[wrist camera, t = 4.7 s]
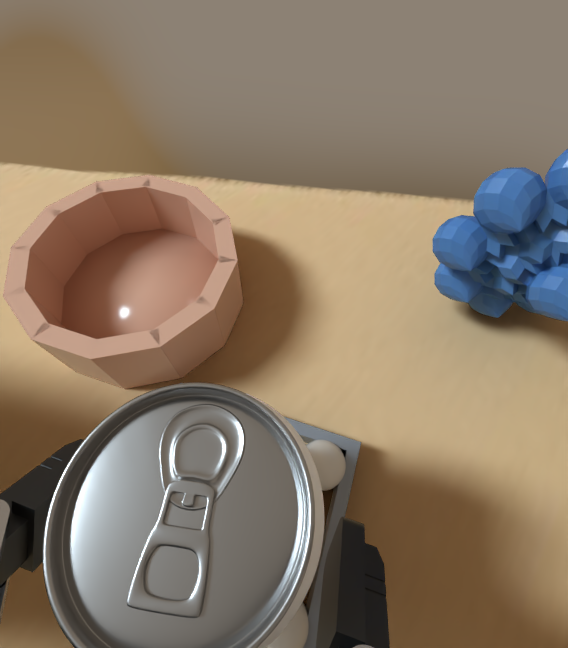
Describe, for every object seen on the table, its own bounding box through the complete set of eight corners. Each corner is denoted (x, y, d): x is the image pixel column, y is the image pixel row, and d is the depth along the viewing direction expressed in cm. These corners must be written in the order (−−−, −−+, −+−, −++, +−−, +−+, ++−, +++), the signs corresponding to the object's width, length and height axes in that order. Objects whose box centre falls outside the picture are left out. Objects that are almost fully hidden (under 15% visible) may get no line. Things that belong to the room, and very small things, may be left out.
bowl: (265, 252, 26) (264, 204, 22) (195, 412, 21) (176, 387, 17) (114, 210, 27) (87, 159, 23) (11, 350, 22) (-47, 313, 18)
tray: (355, 447, 20) (361, 442, 19) (302, 682, 15) (305, 698, 14) (186, 391, 21) (180, 382, 20) (92, 593, 17) (76, 600, 15)
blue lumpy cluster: (407, 368, 22) (529, 231, 12) (390, 276, 25) (474, 102, 15) (594, 367, 22) (881, 234, 12) (555, 276, 26) (754, 107, 15)
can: (306, 456, 20) (345, 384, 9) (291, 604, 17) (322, 756, 6) (188, 438, 20) (91, 349, 9) (152, 581, 17) (-51, 688, 6)
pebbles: (346, 452, 20) (355, 444, 18) (297, 660, 16) (301, 683, 14) (191, 400, 21) (182, 386, 19) (108, 582, 17) (85, 591, 15)
